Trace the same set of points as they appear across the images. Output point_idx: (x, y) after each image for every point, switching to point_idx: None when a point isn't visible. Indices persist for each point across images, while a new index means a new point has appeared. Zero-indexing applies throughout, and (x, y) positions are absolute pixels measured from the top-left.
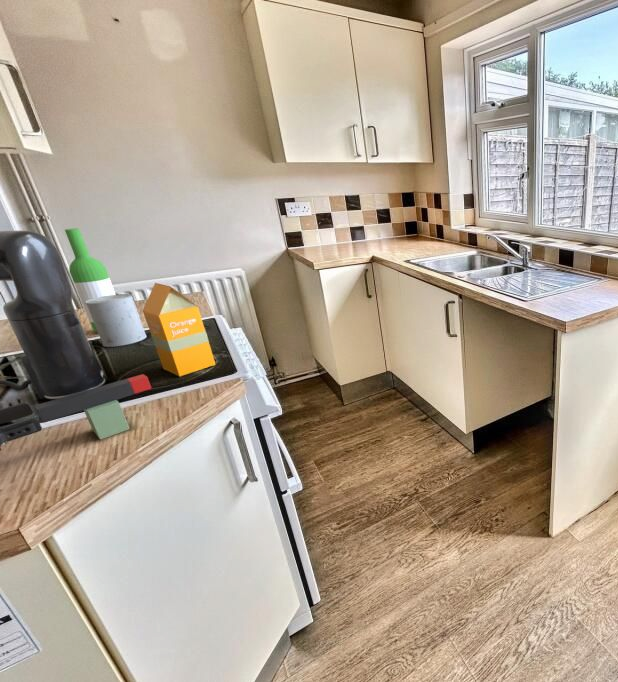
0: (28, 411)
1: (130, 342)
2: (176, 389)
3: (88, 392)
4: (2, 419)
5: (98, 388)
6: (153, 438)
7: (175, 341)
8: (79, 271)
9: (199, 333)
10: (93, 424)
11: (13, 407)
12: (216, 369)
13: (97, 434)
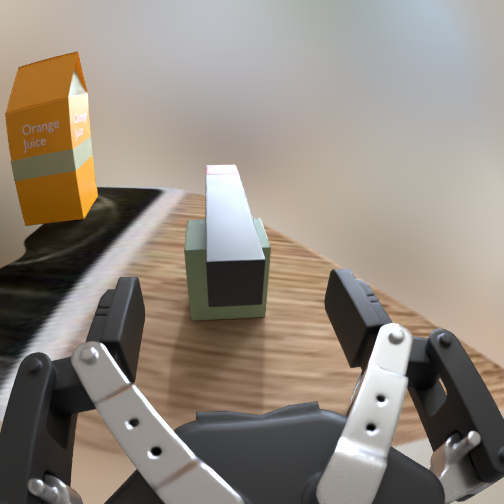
0: (141, 307)
1: None
2: (134, 227)
3: (229, 201)
4: (131, 362)
5: (219, 193)
6: (337, 267)
7: (77, 150)
8: None
9: (88, 139)
10: (266, 281)
11: (129, 302)
12: (117, 197)
13: (256, 308)
